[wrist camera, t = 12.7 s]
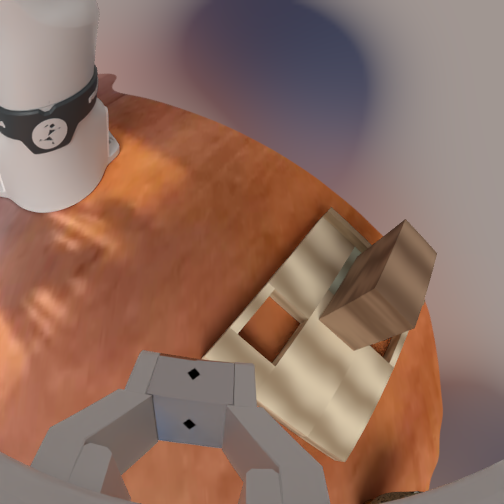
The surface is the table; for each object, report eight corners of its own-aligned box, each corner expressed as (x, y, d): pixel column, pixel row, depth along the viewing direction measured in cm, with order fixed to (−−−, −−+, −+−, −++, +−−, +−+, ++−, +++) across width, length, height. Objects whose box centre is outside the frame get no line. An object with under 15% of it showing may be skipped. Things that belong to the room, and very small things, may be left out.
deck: (335, 460, 29) (353, 463, 26) (200, 358, 30) (208, 353, 27) (409, 308, 44) (424, 300, 41) (318, 220, 45) (331, 207, 42)
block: (353, 350, 35) (414, 328, 26) (318, 319, 35) (374, 288, 27) (385, 284, 41) (436, 253, 33) (357, 256, 42) (405, 219, 33)
